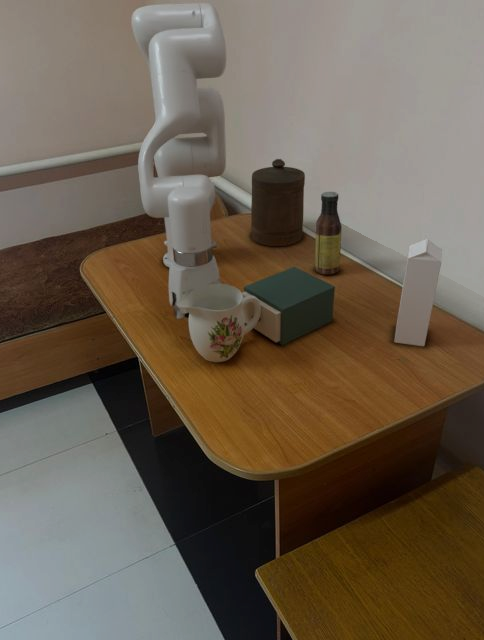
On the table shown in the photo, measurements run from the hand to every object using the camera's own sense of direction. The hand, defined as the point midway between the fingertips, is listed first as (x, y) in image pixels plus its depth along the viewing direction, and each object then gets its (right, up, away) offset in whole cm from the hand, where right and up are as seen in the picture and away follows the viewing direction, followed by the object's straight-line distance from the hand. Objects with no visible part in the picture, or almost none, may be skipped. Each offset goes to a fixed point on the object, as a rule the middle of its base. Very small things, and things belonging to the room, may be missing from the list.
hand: (199, 333), depth 113 cm
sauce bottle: (+31, +17, +25) cm, 43 cm away
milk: (+44, -1, -2) cm, 44 cm away
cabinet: (+19, +3, +5) cm, 20 cm away
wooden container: (+20, +30, +44) cm, 57 cm away
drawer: (+17, +3, +4) cm, 18 cm away
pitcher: (+5, -4, -3) cm, 7 cm away
